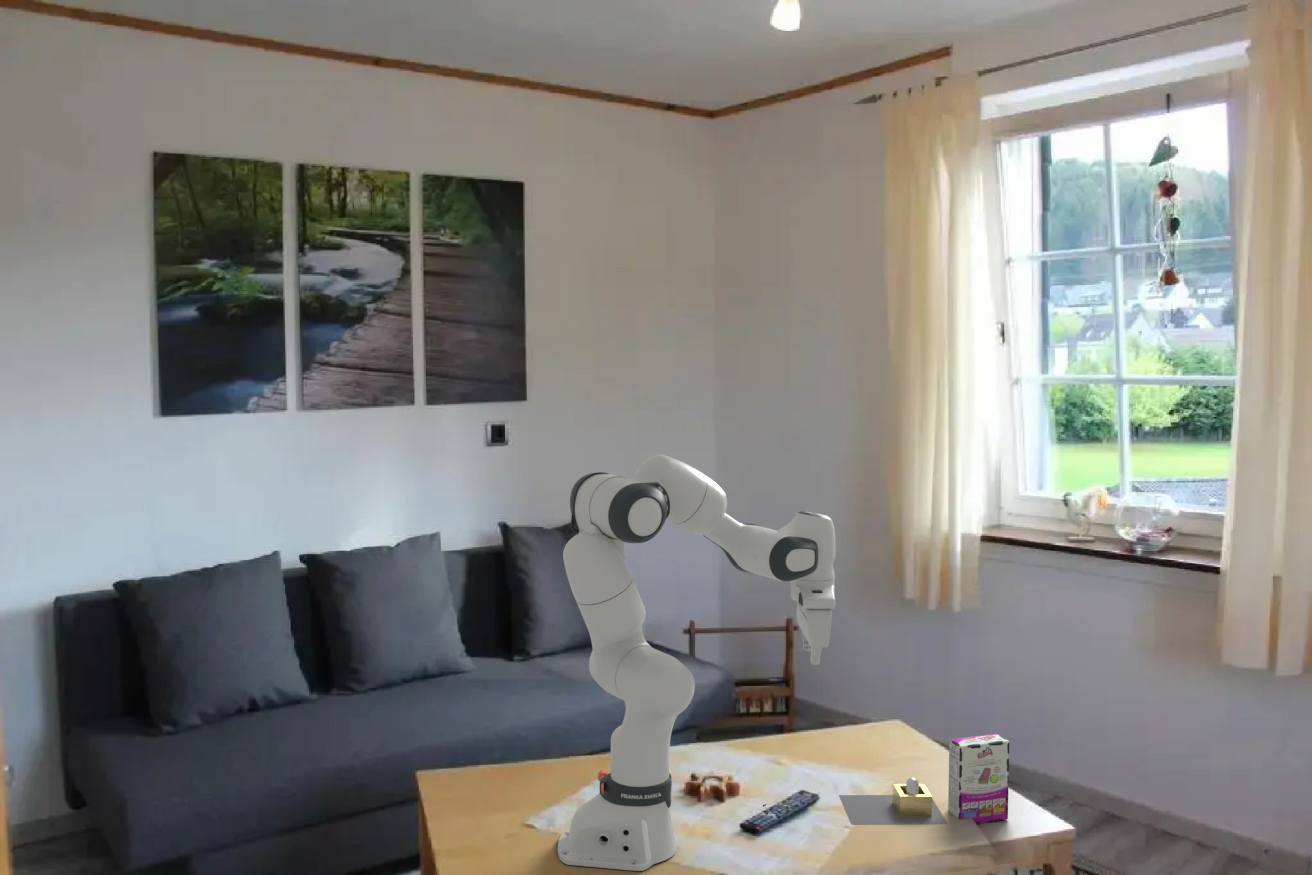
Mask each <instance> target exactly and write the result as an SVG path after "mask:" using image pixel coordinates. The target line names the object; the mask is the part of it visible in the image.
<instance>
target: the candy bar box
mask: <svg viewBox="0 0 1312 875" xmlns="http://www.w3.org/2000/svg"><path fill="white" fill-rule="evenodd" d="M948 740H949V742H948V743H949V744H948V798H947V801H948V803H947V805H948V808H947V810H948V812H950V813H951V814H952V815H954V817H956V818H957V819H959V820H967V819H972V820H973V821H974V823H975V825H978V824H979V825H980V824H986V823H991V822H992V823H993V822H1000V821H1007V820H1009V785H1010V784H1009V782H1010V780H1009V775H1010V740H1008V739H1007V738H1005V737H1003V736H1001V735H1000V734H997V733H993V734H985V735H975V736H966V737H965V736H964V737H958V738H957V737H956V738H949V739H948Z"/></svg>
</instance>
